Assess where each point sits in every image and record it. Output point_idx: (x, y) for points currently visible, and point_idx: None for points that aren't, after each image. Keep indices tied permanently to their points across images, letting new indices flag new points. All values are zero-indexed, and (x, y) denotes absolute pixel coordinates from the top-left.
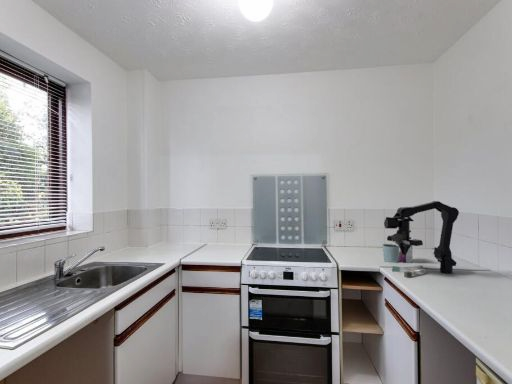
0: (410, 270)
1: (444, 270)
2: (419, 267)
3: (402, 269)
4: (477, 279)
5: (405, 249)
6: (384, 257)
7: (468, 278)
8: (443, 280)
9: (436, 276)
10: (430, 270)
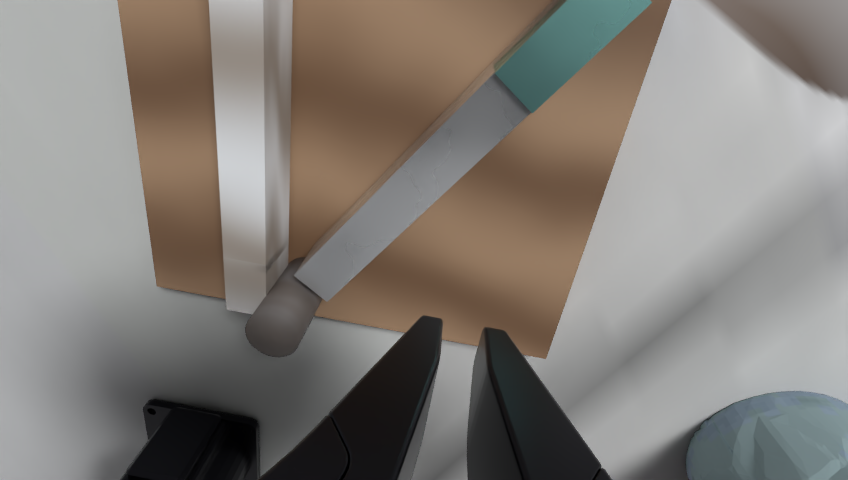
0: (373, 189)
1: (151, 443)
2: (283, 301)
3: (457, 105)
4: (39, 475)
5: (317, 436)
6: None
7: (75, 458)
8: (92, 258)
9: (207, 333)
10: None
